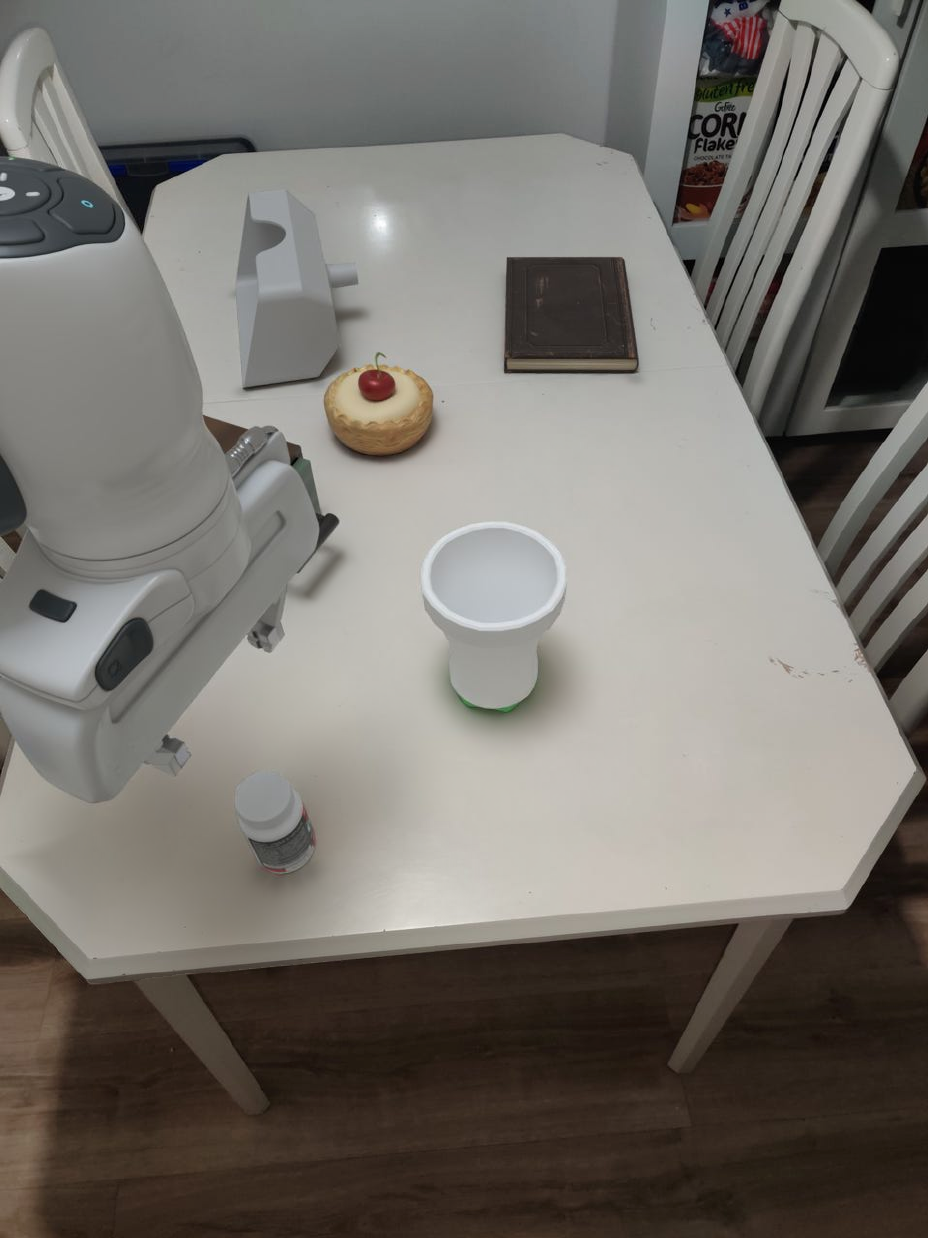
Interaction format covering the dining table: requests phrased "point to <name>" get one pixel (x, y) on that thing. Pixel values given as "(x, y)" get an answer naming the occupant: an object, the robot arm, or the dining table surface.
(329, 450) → the dining table surface
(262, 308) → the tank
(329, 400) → the pastry
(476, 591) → the cup
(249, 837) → the pill bottle
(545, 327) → the hardcover book
